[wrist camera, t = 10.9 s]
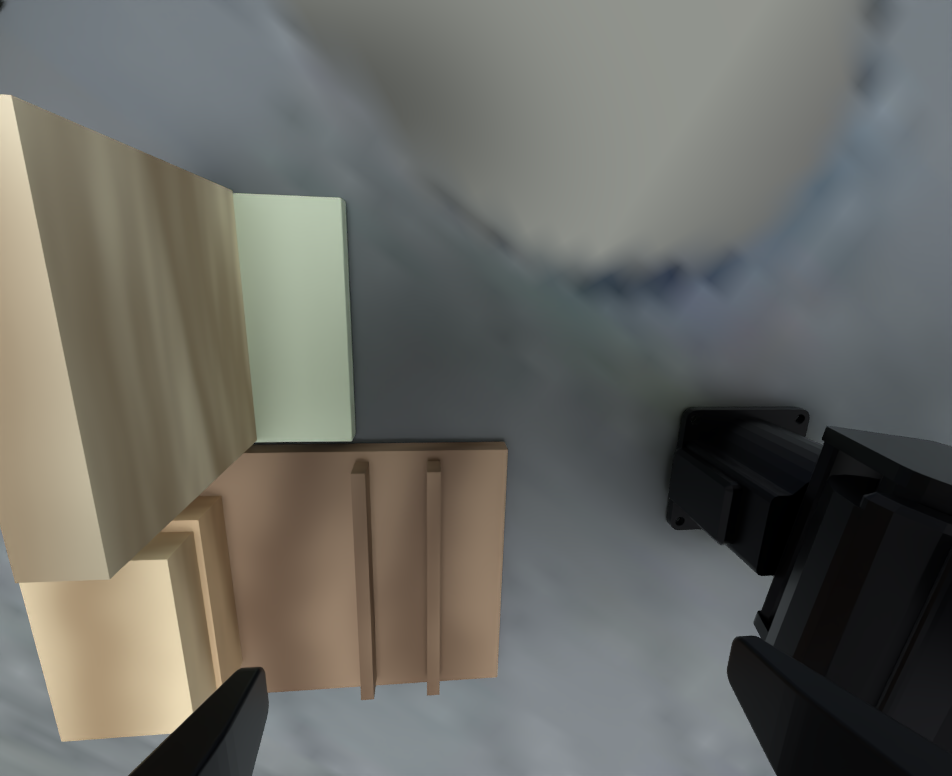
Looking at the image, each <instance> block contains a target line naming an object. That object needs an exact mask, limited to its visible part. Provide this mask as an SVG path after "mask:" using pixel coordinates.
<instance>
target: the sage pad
mask: <svg viewBox="0 0 952 776" xmlns="http://www.w3.org/2000/svg"><path fill="white" fill-rule="evenodd" d="M233 202H234V212H235V222H236V233H237V243H238V253H239V263H240V273H241V283H242V293H243V303H244V313H245V323H246V334H247V344H248V354H249V364H250V374H251V384H252V394H253V404H254V414H255V424H256V435H257V441H256V442H329V441H352V440H353V438H354V436H355V434H356V428H355V405H354V382H353V359H352V336H351V313H350V290H349V267H348V244H347V221H346V202H345V201H344V200H343V199H341V198H331V197H309V196H286V195H264V194H241V193H233Z"/></svg>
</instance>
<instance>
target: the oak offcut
mask: <svg viewBox="0 0 952 776" xmlns="http://www.w3.org/2000/svg"><path fill="white" fill-rule="evenodd" d="M191 531H193V533H194V540H195V546H196V553H197V560H198V567H199V573H200V580H201V587H202V593H203V600H204V607H205V614H206V620H207V627H208V634H209V641H210V647H211V654H212V661H213V667H214V674H215V681H216V688H217V689H218V688H219V687H220V686H221V685H222V684H223V683H224V682H225V681H226V680H227V679H228V678H229V677H230V676H231V675H232V674H233V673H234V672H235V671H237V670H238V669H239V668H240V666H241V664H242V662H243V660H242V653H241V645H240V637H239V629H238V621H237V613H236V606H235V598H234V590H233V582H232V574H231V567H230V559H229V551H228V543H227V535H226V528H225V520H224V512H223V504H222V496H198V497H197V498H195V499H194V500H193V501H192V502H191V503H190V504H189V505H188V506H187V507H186V508H185V509H184V510H183V511H182V512H181V513H180V514H179V515H178V516H176V517H175V518H174V519H173V520H172V521H171V522H170V523H169V524H168V525H167V526H166V527H165V528H164V529H163V530H162V531H161V532H191Z"/></svg>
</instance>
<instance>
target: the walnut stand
mask: <svg viewBox="0 0 952 776" xmlns="http://www.w3.org/2000/svg"><path fill="white" fill-rule="evenodd" d="M507 457H508V449H507V447H506V444H505V442H441V443H356V444H271V445H252V446H251V447H249V448H248V449H247V450H246V451H245V452H244V453H243V454H242V455H241V456H240V457H239V458H238V459H237V460H236V461H235V462H234V463H233V464H231V465H230V466H229V467H228V468H227V469H226V470H225V471H224V472H223V473H222V474H221V475H220V476H219V477H218V478H217V479H216V480H215V481H213V482H212V483H211V484H210V485H209V486H208V487H207V488H206V489H205V490H204V491H203V492H202V493H201V494H200V495H199V496H222V504H223V512H224V520H225V528H226V535H227V543H228V551H229V559H230V567H231V574H232V582H233V590H234V598H235V606H236V613H237V621H238V629H239V637H240V645H241V653H242V660H243V662H242V664H241V666H240V668H245V667H262V668H264V670H265V675H266V684H267V692H268V693H270V692H284V691H299V690H314V689H329V688H344V687H358V686H361V700H369V699H374V694H375V687H376V685H388V684H403V683H418V682H427V695H439V681H447V680H462V679H477V678H492V677H497V669H498V648H499V626H500V605H501V584H502V563H503V542H504V520H505V499H506V478H507ZM240 668H239V669H240Z"/></svg>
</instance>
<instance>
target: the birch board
mask: <svg viewBox="0 0 952 776" xmlns="http://www.w3.org/2000/svg"><path fill="white" fill-rule="evenodd" d="M256 441H257V435H256V424H255V414H254V404H253V394H252V384H251V374H250V364H249V354H248V344H247V334H246V323H245V313H244V303H243V293H242V283H241V273H240V263H239V253H238V243H237V233H236V222H235V212H234V202H233V192H232V190H230V189H228V188H225V187H223V186H221V185H218V184H216V183H214V182H211V181H209V180H207V179H205V178H202V177H200V176H198V175H195V174H193V173H191V172H188V171H186V170H184V169H181V168H179V167H177V166H174V165H172V164H170V163H167V162H165V161H163V160H160V159H158V158H156V157H153V156H151V155H149V154H146V153H144V152H142V151H139V150H137V149H135V148H133V147H130V146H128V145H126V144H123V143H121V142H119V141H116V140H114V139H112V138H109V137H107V136H105V135H102V134H100V133H98V132H95V131H93V130H91V129H88V128H86V127H84V126H81V125H79V124H77V123H74V122H72V121H70V120H68V119H65V118H63V117H61V116H58V115H56V114H54V113H51V112H49V111H47V110H44V109H42V108H40V107H37V106H35V105H33V104H30V103H28V102H26V101H23V100H21V99H19V98H16V97H14V96H12V95H0V527H1V531H2V534H3V538H4V542H5V546H6V549H7V553H8V557H9V561H10V565H11V568H12V572H13V576H14V580H15V583H31V582H58V581H84V580H110V579H111V578H112V577H113V576H114V575H115V574H116V573H117V572H118V571H119V570H120V569H121V568H122V567H124V566H125V565H126V564H127V563H128V562H129V561H130V560H131V559H132V558H133V557H134V556H135V555H136V554H137V553H138V552H139V551H140V550H142V549H143V548H144V547H145V546H146V545H147V544H148V543H149V542H150V541H151V540H152V539H153V538H154V537H155V536H156V535H157V534H158V533H160V532H161V531H162V530H163V529H164V528H165V527H166V526H167V525H168V524H169V523H170V522H171V521H172V520H173V519H174V518H175V517H176V516H178V515H179V514H180V513H181V512H182V511H183V510H184V509H185V508H186V507H187V506H188V505H189V504H190V503H191V502H192V501H193V500H194V499H195V498H197V497H198V496H199V495H200V494H201V493H202V492H203V491H204V490H205V489H206V488H207V487H208V486H209V485H210V484H211V483H212V482H213V481H215V480H216V479H217V478H218V477H219V476H220V475H221V474H222V473H223V472H224V471H225V470H226V469H227V468H228V467H229V466H230V465H231V464H233V463H234V462H235V461H236V460H237V459H238V458H239V457H240V456H241V455H242V454H243V453H244V452H245V451H246V450H247V449H248V448H249V447H251V446H252V445H253V444H254V443H255V442H256Z"/></svg>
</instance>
